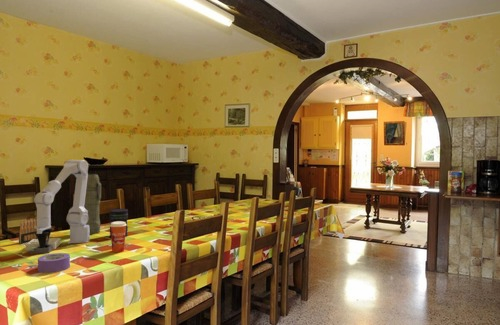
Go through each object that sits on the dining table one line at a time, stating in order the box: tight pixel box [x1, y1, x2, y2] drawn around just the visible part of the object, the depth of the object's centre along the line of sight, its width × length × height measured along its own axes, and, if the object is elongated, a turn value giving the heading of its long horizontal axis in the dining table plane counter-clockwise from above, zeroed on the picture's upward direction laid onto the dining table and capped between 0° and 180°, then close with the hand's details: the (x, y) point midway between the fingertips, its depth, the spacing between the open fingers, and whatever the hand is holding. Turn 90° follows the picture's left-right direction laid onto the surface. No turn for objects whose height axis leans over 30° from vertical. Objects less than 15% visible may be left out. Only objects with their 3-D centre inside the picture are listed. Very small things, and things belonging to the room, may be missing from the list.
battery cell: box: [40, 236, 48, 248], centre depth 173 cm, size 3×3×8 cm
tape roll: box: [37, 252, 71, 274], centre depth 150 cm, size 12×12×5 cm
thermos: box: [84, 173, 102, 235], centre depth 214 cm, size 9×12×35 cm
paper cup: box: [109, 221, 128, 253], centre depth 177 cm, size 8×8×14 cm
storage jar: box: [109, 208, 129, 238], centre depth 208 cm, size 10×10×15 cm
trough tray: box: [25, 237, 62, 251], centre depth 181 cm, size 13×10×3 cm
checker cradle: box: [27, 245, 53, 255], centre depth 173 cm, size 9×6×2 cm, turn 105°
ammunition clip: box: [18, 218, 38, 245], centre depth 192 cm, size 11×2×12 cm, turn 158°
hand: (43, 245), depth 173 cm, fingers closed on battery cell, 3 cm apart
